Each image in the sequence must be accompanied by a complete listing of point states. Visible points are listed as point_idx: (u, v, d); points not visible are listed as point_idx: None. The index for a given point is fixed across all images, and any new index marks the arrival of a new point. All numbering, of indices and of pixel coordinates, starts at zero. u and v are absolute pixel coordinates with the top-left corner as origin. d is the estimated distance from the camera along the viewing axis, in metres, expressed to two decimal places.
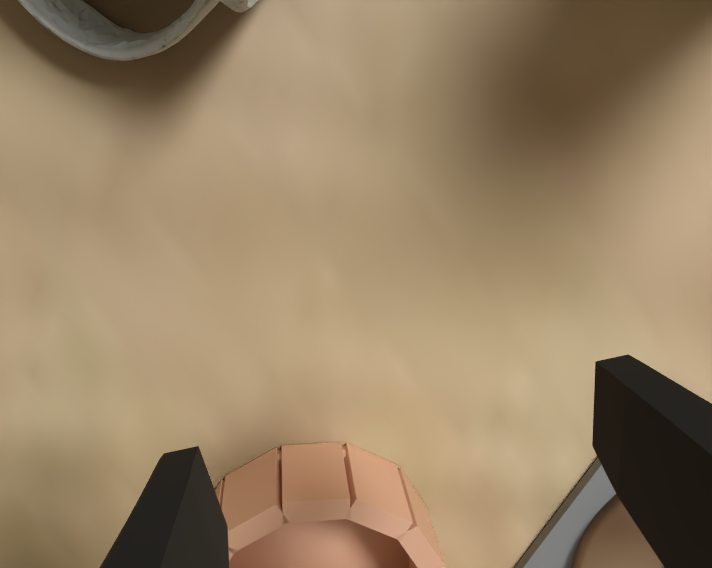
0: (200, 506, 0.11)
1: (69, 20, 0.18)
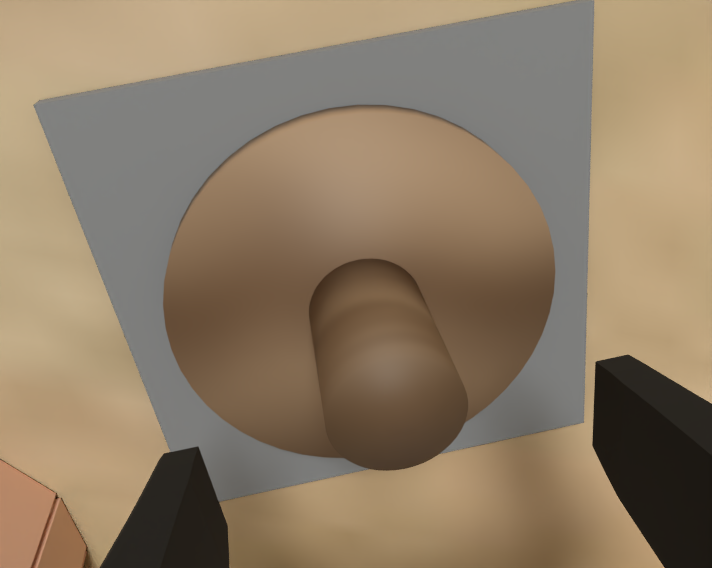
0: (200, 506, 0.11)
1: None
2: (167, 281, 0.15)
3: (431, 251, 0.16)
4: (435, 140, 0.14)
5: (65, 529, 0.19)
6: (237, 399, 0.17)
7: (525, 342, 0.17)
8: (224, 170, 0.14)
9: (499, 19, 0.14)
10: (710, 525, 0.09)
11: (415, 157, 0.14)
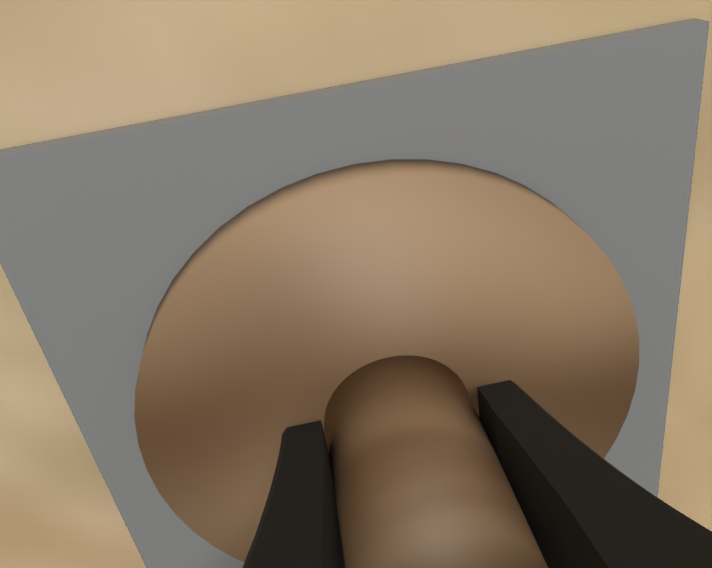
0: (330, 477, 0.11)
1: None
2: (139, 389, 0.11)
3: (483, 345, 0.12)
4: (495, 208, 0.11)
5: None
6: (232, 523, 0.13)
7: (595, 447, 0.14)
8: (213, 250, 0.10)
9: (583, 47, 0.10)
10: (561, 559, 0.09)
11: (468, 230, 0.11)
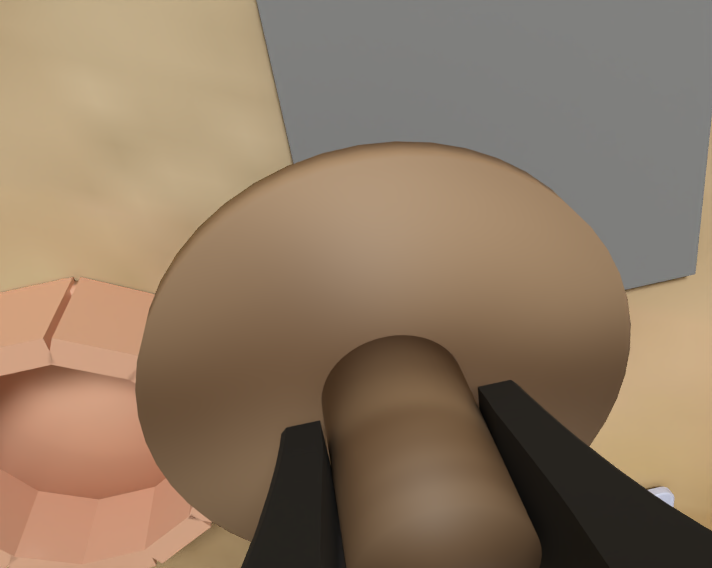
0: (329, 478, 0.11)
1: None
2: (141, 361, 0.12)
3: (479, 327, 0.12)
4: (496, 192, 0.11)
5: None
6: (227, 497, 0.14)
7: (584, 431, 0.14)
8: (219, 225, 0.11)
9: None
10: (561, 559, 0.09)
11: (469, 213, 0.11)
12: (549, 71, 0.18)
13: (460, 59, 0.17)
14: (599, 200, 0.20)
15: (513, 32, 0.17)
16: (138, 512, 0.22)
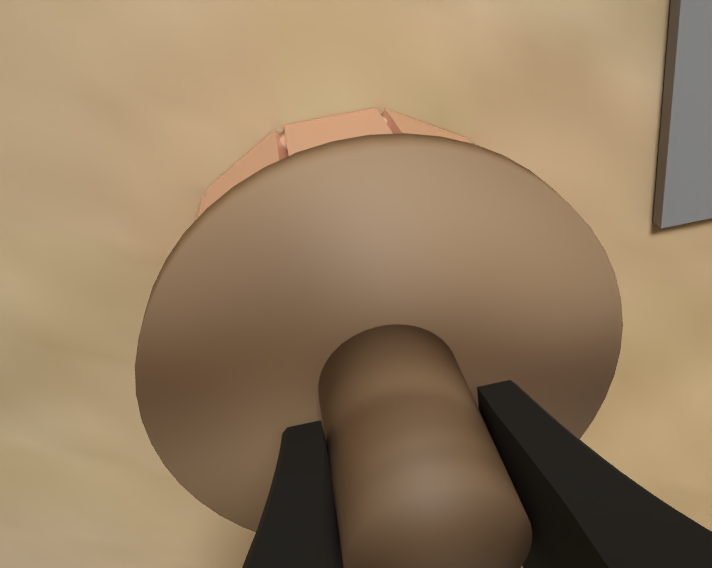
0: (331, 478, 0.11)
1: None
2: (143, 339, 0.12)
3: (476, 320, 0.13)
4: (501, 187, 0.11)
5: None
6: (219, 479, 0.14)
7: (572, 428, 0.14)
8: (228, 206, 0.11)
9: None
10: (561, 559, 0.09)
11: (473, 206, 0.11)
12: None
13: None
14: None
15: None
16: None
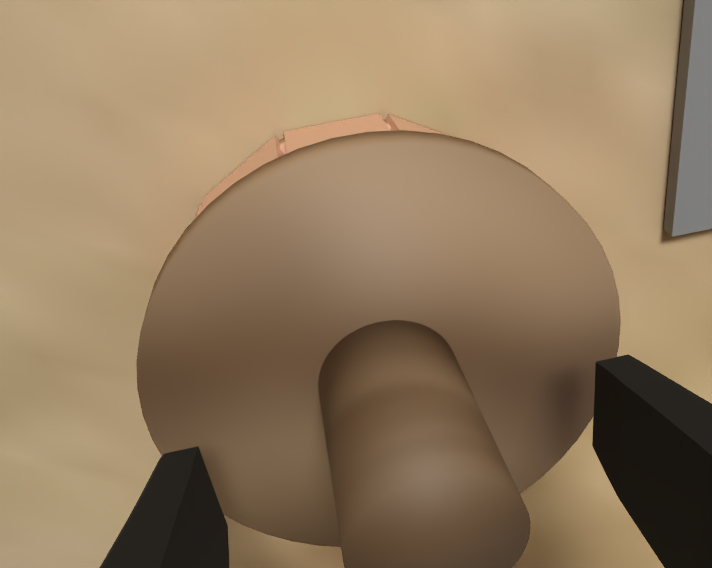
0: (200, 506, 0.11)
1: None
2: (144, 333, 0.12)
3: (475, 316, 0.13)
4: (498, 183, 0.11)
5: None
6: (220, 476, 0.14)
7: (571, 426, 0.14)
8: (230, 201, 0.11)
9: None
10: (710, 525, 0.09)
11: (471, 202, 0.12)
12: None
13: None
14: None
15: None
16: None
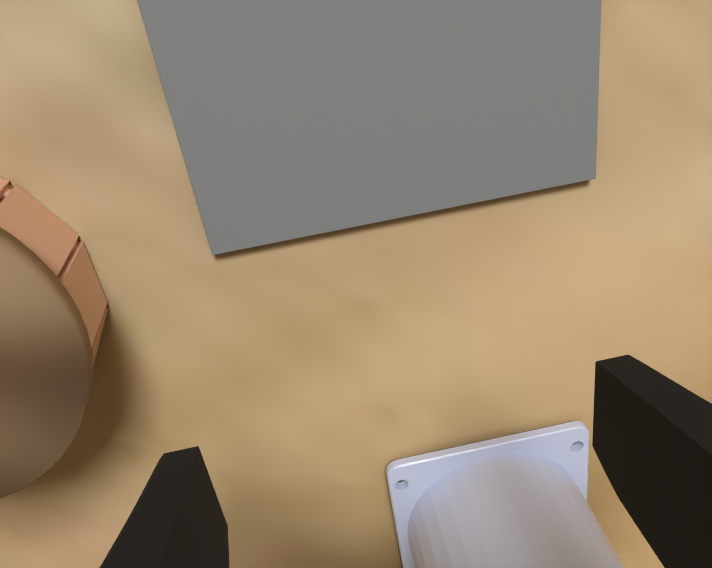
0: (200, 506, 0.11)
1: None
2: None
3: None
4: None
5: (87, 271, 0.19)
6: None
7: (70, 413, 0.18)
8: None
9: None
10: (710, 525, 0.09)
11: None
12: None
13: None
14: (486, 88, 0.19)
15: None
16: None
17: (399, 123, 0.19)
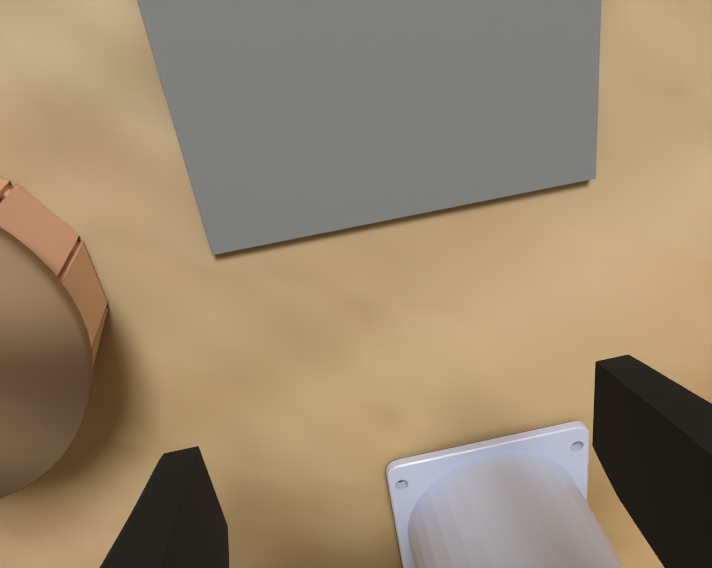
0: (200, 506, 0.11)
1: None
2: None
3: None
4: None
5: (87, 271, 0.19)
6: None
7: (70, 413, 0.18)
8: None
9: None
10: (710, 525, 0.09)
11: None
12: None
13: None
14: (486, 88, 0.19)
15: None
16: None
17: (399, 123, 0.19)
